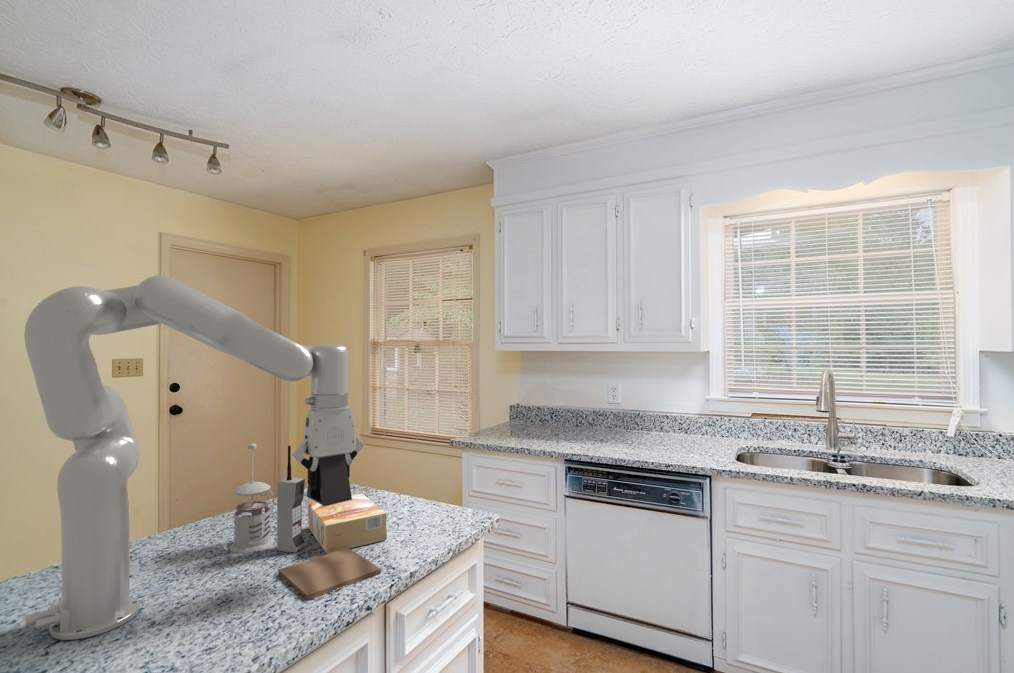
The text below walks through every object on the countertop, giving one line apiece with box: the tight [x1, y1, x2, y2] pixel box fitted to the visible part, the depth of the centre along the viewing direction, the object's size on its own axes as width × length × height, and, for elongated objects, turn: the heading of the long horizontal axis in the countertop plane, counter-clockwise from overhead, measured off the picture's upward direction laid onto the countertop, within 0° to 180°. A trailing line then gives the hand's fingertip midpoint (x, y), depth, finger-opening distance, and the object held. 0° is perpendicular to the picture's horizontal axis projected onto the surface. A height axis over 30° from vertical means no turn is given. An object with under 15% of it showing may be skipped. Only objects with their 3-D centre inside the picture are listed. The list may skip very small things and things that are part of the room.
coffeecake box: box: [307, 493, 388, 555], centre depth 130 cm, size 15×7×20 cm
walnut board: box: [278, 548, 382, 601], centre depth 108 cm, size 16×15×1 cm
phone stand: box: [306, 454, 353, 506], centre depth 108 cm, size 9×6×12 cm, turn 45°
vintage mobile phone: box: [276, 445, 306, 554], centre depth 121 cm, size 4×5×25 cm
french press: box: [229, 442, 275, 554], centre depth 124 cm, size 10×12×25 cm
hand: (329, 484), depth 108 cm, fingers closed on phone stand, 6 cm apart
